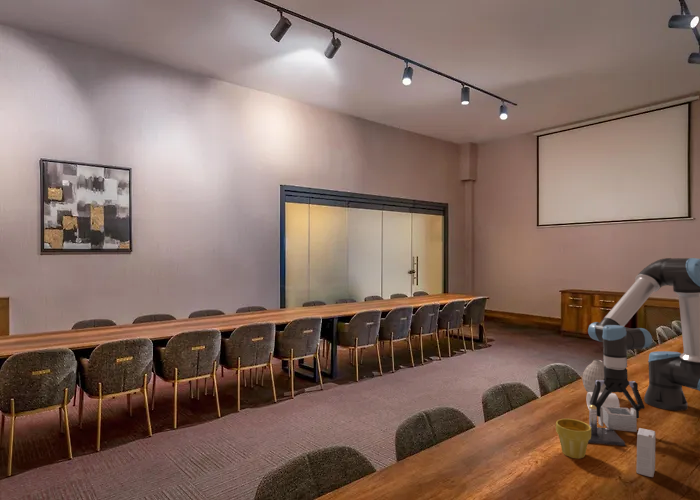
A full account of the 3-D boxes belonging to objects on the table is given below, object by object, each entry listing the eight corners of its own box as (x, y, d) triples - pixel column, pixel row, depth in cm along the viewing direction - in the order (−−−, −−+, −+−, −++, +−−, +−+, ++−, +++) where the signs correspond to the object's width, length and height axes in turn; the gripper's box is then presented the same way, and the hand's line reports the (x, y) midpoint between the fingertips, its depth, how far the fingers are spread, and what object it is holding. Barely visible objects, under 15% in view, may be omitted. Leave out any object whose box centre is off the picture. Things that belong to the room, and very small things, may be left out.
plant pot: (590, 464, 132) (590, 433, 132) (554, 456, 137) (554, 426, 137) (592, 451, 140) (591, 422, 141) (557, 444, 146) (557, 416, 146)
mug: (619, 416, 171) (619, 397, 171) (593, 414, 173) (592, 395, 173) (608, 406, 182) (607, 387, 183) (583, 404, 184) (582, 386, 185)
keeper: (611, 431, 156) (611, 400, 156) (625, 445, 144) (624, 412, 144) (564, 427, 160) (564, 397, 160) (574, 441, 148) (573, 409, 148)
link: (628, 422, 161) (627, 408, 161) (636, 431, 152) (636, 416, 152) (601, 419, 163) (601, 405, 163) (608, 429, 155) (608, 414, 155)
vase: (584, 399, 190) (584, 362, 191) (580, 391, 202) (580, 356, 203) (617, 403, 186) (617, 365, 186) (611, 394, 198) (611, 358, 198)
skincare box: (638, 465, 131) (637, 426, 131) (656, 470, 128) (655, 430, 128) (636, 473, 126) (635, 433, 126) (654, 478, 123) (653, 437, 123)
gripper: (644, 365, 159) (646, 423, 159) (578, 363, 164) (580, 419, 164) (654, 370, 151) (656, 431, 151) (585, 368, 156) (587, 427, 156)
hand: (617, 425), depth 157 cm, fingers open, 10 cm apart
